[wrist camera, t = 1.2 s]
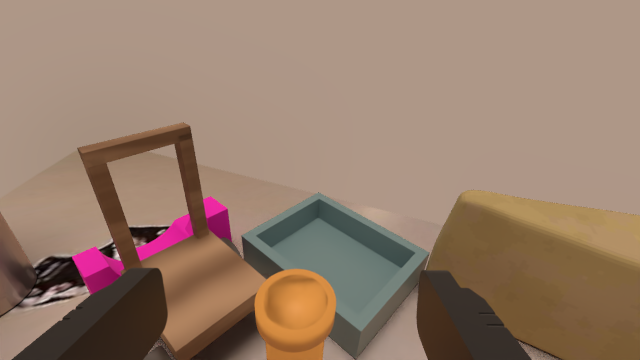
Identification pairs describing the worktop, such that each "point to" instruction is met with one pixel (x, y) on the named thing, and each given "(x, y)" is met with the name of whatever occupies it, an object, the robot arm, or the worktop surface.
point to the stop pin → (295, 314)
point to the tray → (340, 263)
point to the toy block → (149, 246)
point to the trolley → (179, 249)
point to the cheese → (549, 271)
